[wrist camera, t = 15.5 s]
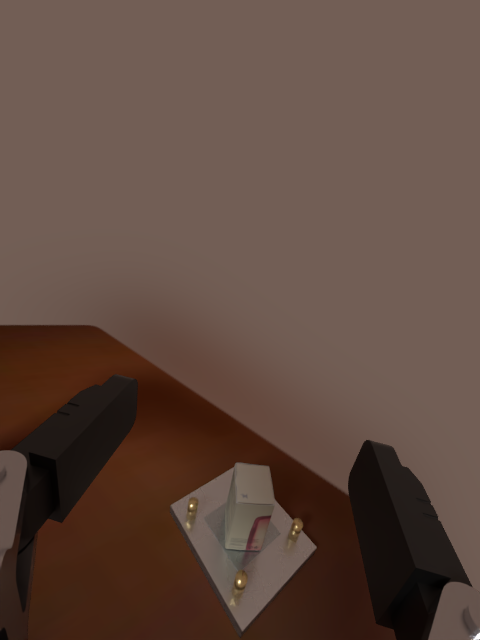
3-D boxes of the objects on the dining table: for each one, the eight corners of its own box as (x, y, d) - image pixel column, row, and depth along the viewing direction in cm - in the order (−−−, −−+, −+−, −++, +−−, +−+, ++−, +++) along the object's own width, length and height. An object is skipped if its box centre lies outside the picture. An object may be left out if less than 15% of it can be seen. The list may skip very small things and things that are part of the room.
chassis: (169, 511, 36) (172, 491, 34) (240, 467, 43) (244, 450, 42) (240, 637, 26) (247, 617, 25) (314, 553, 34) (322, 534, 33)
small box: (261, 552, 32) (276, 506, 29) (224, 549, 32) (235, 503, 29) (257, 508, 37) (270, 464, 34) (224, 505, 36) (234, 461, 33)
